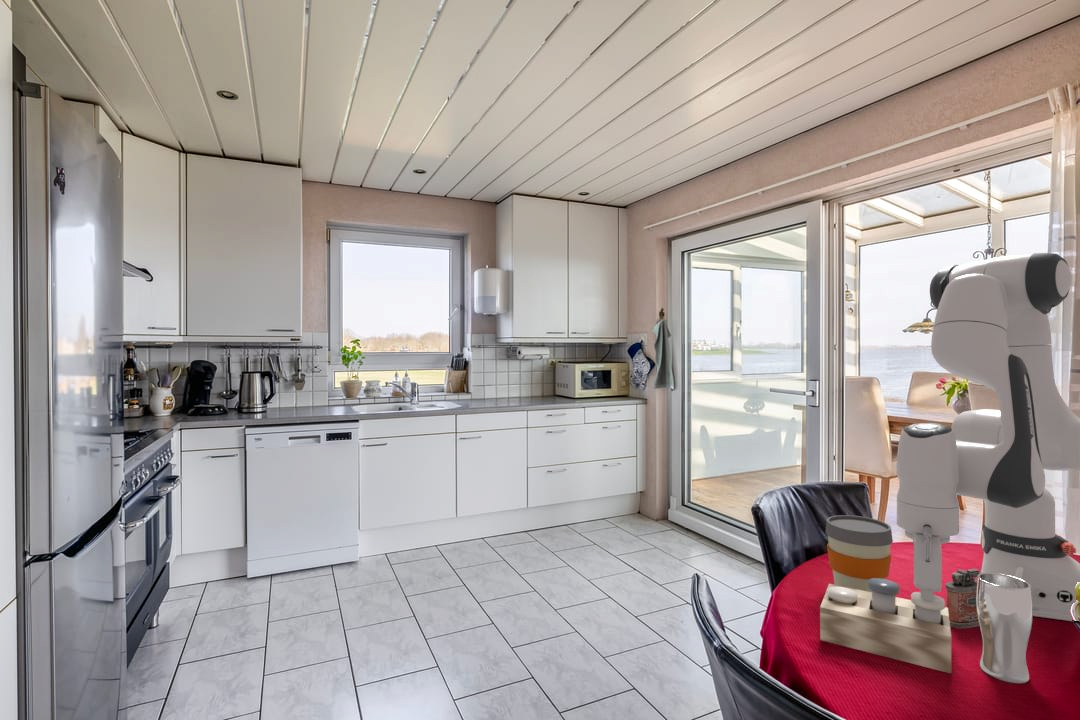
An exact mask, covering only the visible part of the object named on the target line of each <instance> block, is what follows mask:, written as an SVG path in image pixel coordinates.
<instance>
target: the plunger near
mask: <svg viewBox="0 0 1080 720" xmlns="http://www.w3.org/2000/svg"><path fill="white" fill-rule="evenodd" d="M910 600H911V602H912V603H913V604H915V619H917V620H921V621H926V622H931V623H935V624H940V625H941V610H943V609H945V607H946V601H945V600H946V599H944V598H943V597H941V596H938V595H936V594H934V600H933V601H932V602H929V601H925V600H922V599H921V591H914V592H912V593H911V594H910Z"/></svg>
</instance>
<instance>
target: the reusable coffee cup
mask: <svg viewBox="0 0 1080 720" xmlns="http://www.w3.org/2000/svg"><path fill="white" fill-rule="evenodd" d="M825 534H826V535H827V541H828V543H827V545H826V549H827V553H828V554H827V556H828V562H829V566H830V569H832V575H833V582H834V585H838V586H843V587H848V588H853V589H858V590H863V591H868V592H872V590H870V589H869V588H868V580H869V579H872V578H881V579H886V580H887V578H888V577H889V575H890V569H891V560H892V553H891V544H892V543H894V540H893V532H892V527H891V525H890V524H888V523H887V522H885V521H882V520H879V519H874V518H871V517H868V516H860V515H850V514H849V515H848V514H845V515H844V514H841V515H833V516H829V517H828V518H826V524H825Z"/></svg>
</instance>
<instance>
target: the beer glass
mask: <svg viewBox="0 0 1080 720" xmlns="http://www.w3.org/2000/svg"><path fill="white" fill-rule="evenodd" d="M977 580H978V581H977V590H976V608H977V615H978V620H979V629H980V632H981V634H980V635H981V639H982V651H981V652H982V653H981V656H980V661H979V667H980V669H981V670H982V671H983V672H984V673H985V674H987V675H989V676H990V677H993V678H995V679H996V680H997V679H998V680H999V681H1003V682H1006V683H1011V684H1026V683H1027V682H1029V680H1030V674H1029V669H1028V665H1027V664H1028V663H1027V659H1026V658H1027V656H1026V655H1027V648H1028V643H1029V640H1030V635H1031V631H1032V625H1033V617H1034V616H1033V608H1032V596H1031V585H1030V584H1029V583H1028V582H1026V581H1024V580H1022V579H1020V578H1017V577H1014V576H1010V575H1006V574H1001V573H992V572H985V573H981V572H980V574H978V577H977Z"/></svg>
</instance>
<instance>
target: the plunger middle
mask: <svg viewBox="0 0 1080 720" xmlns="http://www.w3.org/2000/svg"><path fill="white" fill-rule="evenodd" d="M868 588H869V589H870V590H872V610H876V611H880V612H885V613H889V614H894V615H896V600H895V597H896V595H898V594H900V585H899V584H898V583H897V582H895V581H893V580H889V579H887V578H886V579H881V578H872V579H869V580H868Z"/></svg>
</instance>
